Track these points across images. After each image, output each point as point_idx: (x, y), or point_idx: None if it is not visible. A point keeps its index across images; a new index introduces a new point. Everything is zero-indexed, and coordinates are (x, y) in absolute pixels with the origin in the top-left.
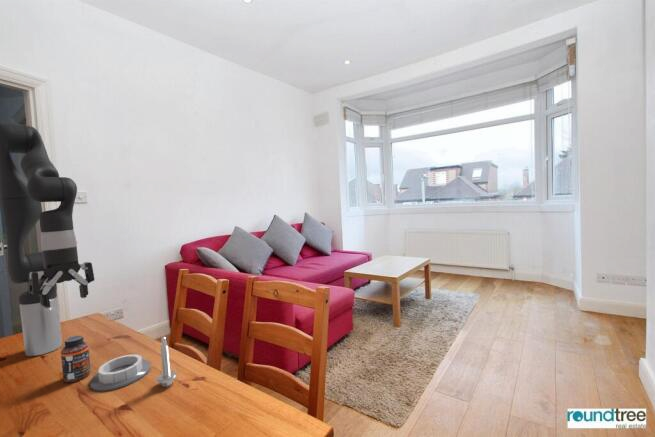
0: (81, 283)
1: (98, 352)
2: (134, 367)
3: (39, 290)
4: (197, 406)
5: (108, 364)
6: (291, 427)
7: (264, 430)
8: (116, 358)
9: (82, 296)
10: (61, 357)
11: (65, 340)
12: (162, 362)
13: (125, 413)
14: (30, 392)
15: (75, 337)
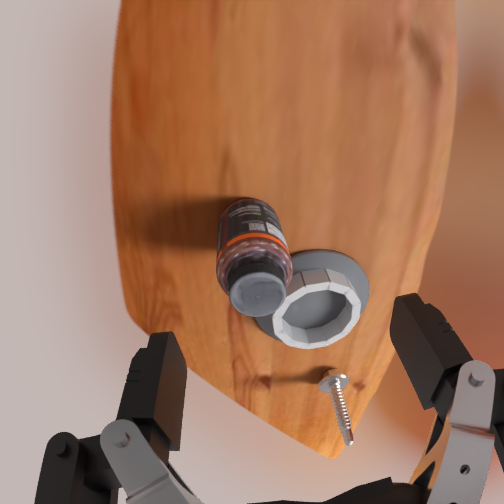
0: (445, 409)
1: (342, 105)
2: (324, 344)
3: (119, 483)
4: (314, 418)
5: (304, 291)
6: (328, 454)
7: (316, 451)
8: (328, 285)
9: (396, 327)
10: (216, 262)
11: (232, 294)
12: (334, 408)
13: (260, 389)
14: (154, 207)
15: (263, 293)
